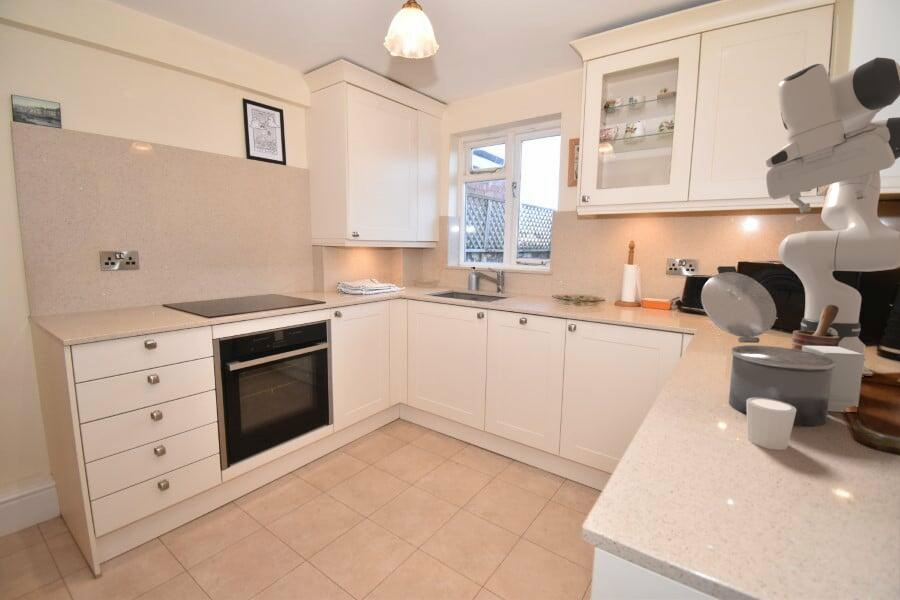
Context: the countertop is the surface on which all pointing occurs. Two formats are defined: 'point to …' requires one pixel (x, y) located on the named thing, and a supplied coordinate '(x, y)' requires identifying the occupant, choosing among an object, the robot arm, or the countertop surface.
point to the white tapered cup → (769, 422)
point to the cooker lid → (738, 304)
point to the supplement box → (842, 375)
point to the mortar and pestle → (818, 331)
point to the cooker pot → (782, 380)
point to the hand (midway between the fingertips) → (833, 205)
